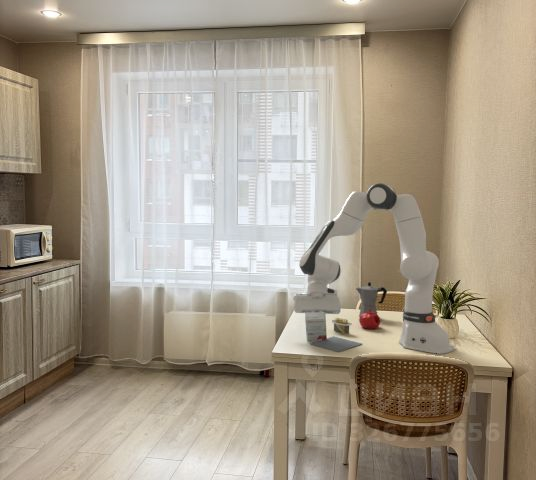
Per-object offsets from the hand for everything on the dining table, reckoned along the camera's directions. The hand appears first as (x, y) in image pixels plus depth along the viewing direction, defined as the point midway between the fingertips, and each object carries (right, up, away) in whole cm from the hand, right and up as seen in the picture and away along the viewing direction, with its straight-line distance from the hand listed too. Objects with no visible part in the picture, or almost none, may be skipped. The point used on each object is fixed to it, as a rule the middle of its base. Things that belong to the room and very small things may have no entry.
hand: (317, 320), depth 236 cm
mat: (+7, -9, -6) cm, 13 cm away
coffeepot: (+31, -5, +42) cm, 53 cm away
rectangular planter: (+12, -8, +13) cm, 19 cm away
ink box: (0, -7, +1) cm, 7 cm away
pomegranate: (+27, -7, +23) cm, 36 cm away
